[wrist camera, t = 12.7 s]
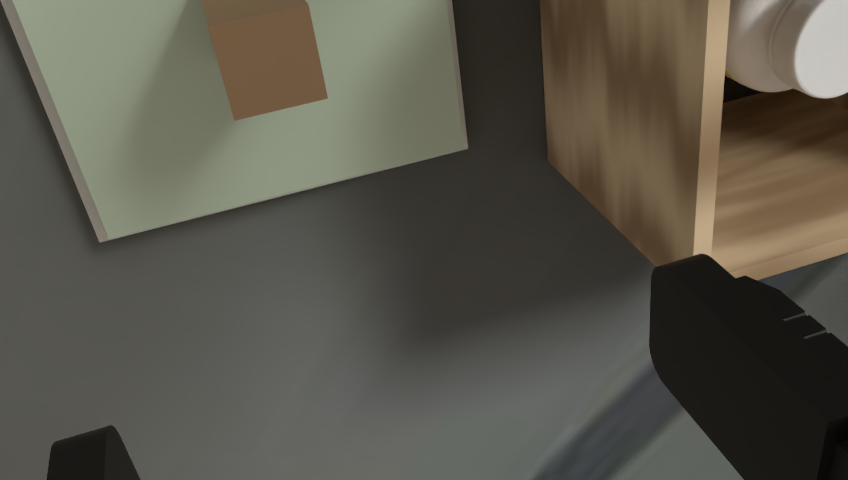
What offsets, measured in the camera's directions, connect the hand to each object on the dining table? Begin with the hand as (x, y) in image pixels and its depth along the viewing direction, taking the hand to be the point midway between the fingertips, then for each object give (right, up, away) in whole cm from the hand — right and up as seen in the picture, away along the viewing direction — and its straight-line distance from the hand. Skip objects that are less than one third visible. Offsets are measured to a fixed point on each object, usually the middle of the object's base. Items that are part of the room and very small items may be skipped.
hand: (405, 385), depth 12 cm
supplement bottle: (+12, +14, +24) cm, 30 cm away
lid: (-6, +11, +18) cm, 22 cm away
